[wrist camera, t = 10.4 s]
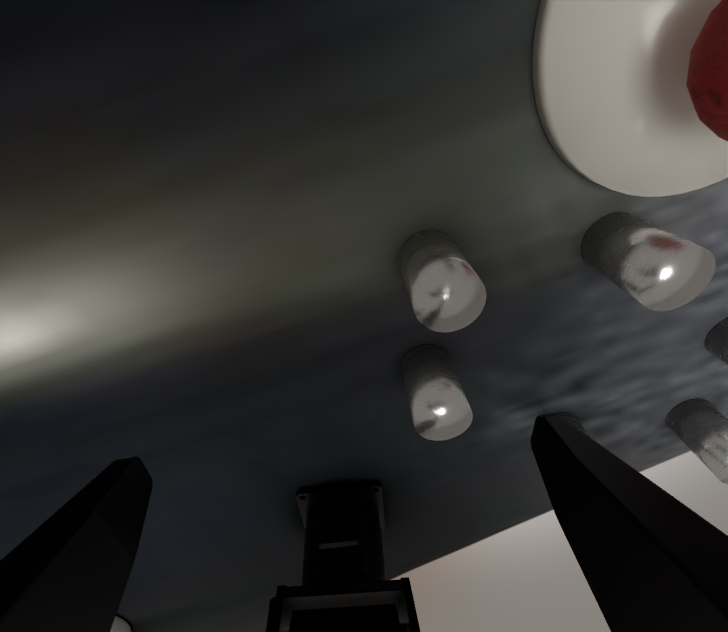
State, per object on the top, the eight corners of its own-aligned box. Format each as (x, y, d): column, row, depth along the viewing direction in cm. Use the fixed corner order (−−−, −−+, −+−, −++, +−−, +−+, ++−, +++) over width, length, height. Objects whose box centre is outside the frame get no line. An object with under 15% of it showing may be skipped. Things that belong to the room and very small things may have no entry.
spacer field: (699, 426, 28) (757, 481, 24) (403, 456, 28) (414, 517, 24) (835, 192, 19) (961, 220, 15) (397, 232, 19) (413, 272, 15)
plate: (777, 177, 18) (803, 183, 17) (511, 202, 18) (521, 209, 17) (997, -271, 11) (1062, -306, 10) (571, -240, 11) (594, -272, 10)
